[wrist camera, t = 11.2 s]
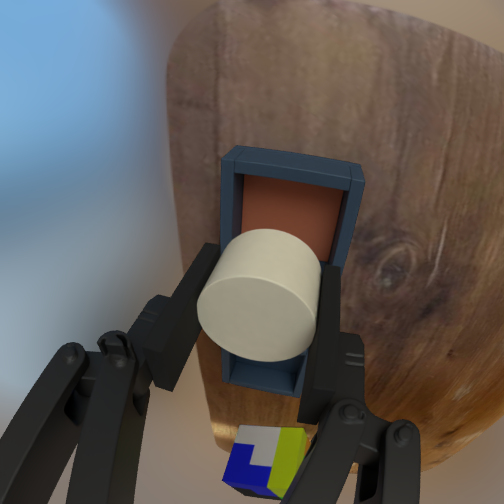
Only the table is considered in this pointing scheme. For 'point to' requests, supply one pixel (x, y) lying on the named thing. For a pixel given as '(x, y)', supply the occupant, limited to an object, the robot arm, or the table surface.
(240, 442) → the puzzle toy
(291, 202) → the grid
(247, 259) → the cylinder
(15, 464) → the robot arm
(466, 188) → the table surface
